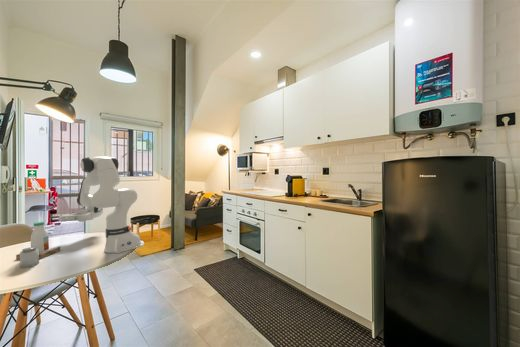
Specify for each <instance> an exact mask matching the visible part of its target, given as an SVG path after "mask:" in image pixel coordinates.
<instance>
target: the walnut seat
mask: <svg viewBox="0 0 520 347" xmlns="http://www.w3.org/2000/svg"><path fill="white" fill-rule="evenodd" d="M60 251H61V247H60V246H57V247H55V248H52V249H49V251H47V252H44V253H42V254H39V260H41V259H43V258H46V257H49V256H51V255H53V254H56V253H58V252H60ZM15 259H16V260H20V253H18V254H15Z"/></svg>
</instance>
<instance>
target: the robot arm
mask: <svg viewBox="0 0 520 347" xmlns="http://www.w3.org/2000/svg"><path fill="white" fill-rule="evenodd" d="M79 166H80V168H81V170H82V171H83V172H84V173H86V175H85V177H84V178H83V179H82V180H81V183H80V184H81V185H80V189H79V192H78V195H77V197H76V203H77V205H79V206H82V207H86V208H85V209H80V210H77V211H76V212H75V213H73V214H71V213H70V214H69V213H68V214H63V215H59V216H58V221H59V222H72V221H73V222H74V221H78V222H86V221H91V220H92V221H93V220H94V219H96V218H98V217H101V216H102V215H103V213H104V209H106V208H113V207H115V208H114V210H112V212H110V213H109V214H108V215H106V218H105V220H106V221H105V225H106V228H105V232H104V233H105V238H106V239H105V244H104V245H105V246H104V250H103V251H104V253H106V254H107V253H109V254H111V253H112V254H113V253H115V254H120V253H124V252H127V251H131V250H134V249H138V248H142V247H143V246H145V242H144V240H141V237H140V235H139V234H138V233H135V232H133V231H132V230H133V228H132V227H131V226H129V225H127V224H128V222H127V220H128V212H129V210H130V208H131V207H132V206H133V204H134V203H135V202H136V201H137V199H138V193H137V191H136V190H135V189H131V188H119V189H115V187H116V186H117V185H119V184H120V182H121V179H120V175H119V172H118V169H119V160H118V159H117V158H116V157H114V156H92V157H91V156H90V157H88V156H87V157H83V158H82V159H81V160H80V163H79ZM91 186H92V187H96V186H99V188H98V190H97V191H95V193H93V194H91V193H90V190H91V189H90V188H91ZM136 246H137V247H136Z"/></svg>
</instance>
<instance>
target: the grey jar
mask: <svg viewBox="0 0 520 347" xmlns="http://www.w3.org/2000/svg"><path fill="white" fill-rule="evenodd" d="M19 254H20V259H19V264H20V265H19V267H20V269H29V268H31V267H32V268H33V267H35V266H37V265H39V264H40V259H39V249H38V248H36V247H31V246H30V247H26V248H23V249H22V250H21V251H20V252H19Z"/></svg>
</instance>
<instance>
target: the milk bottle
mask: <svg viewBox="0 0 520 347" xmlns="http://www.w3.org/2000/svg"><path fill="white" fill-rule="evenodd" d="M49 241H50V240H49V232H48V231H47V230H46V228H45V221H37V222H33V231H32V232H31V235H30V247H36V248H38V249H39V254H42V253H44V252H47V251H49V250H50V243H49Z"/></svg>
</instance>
